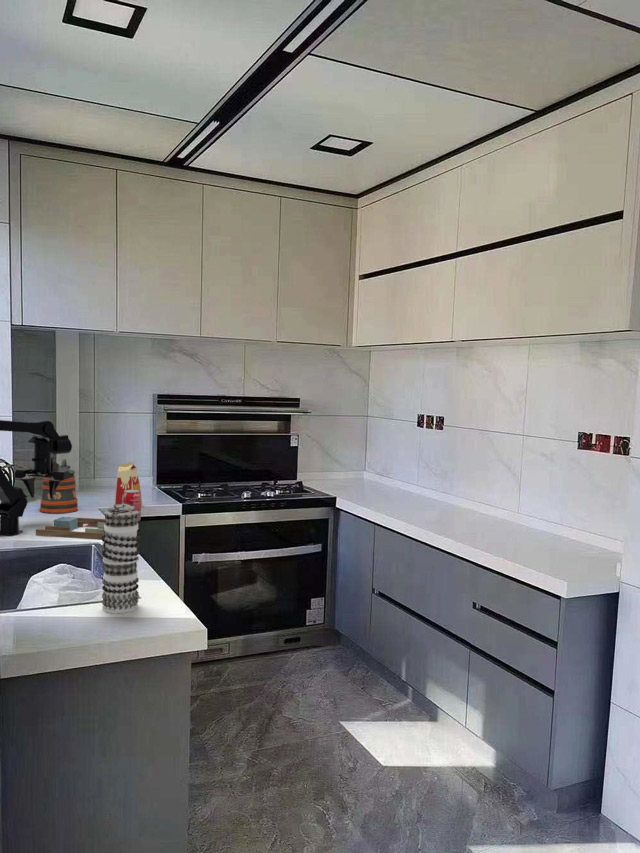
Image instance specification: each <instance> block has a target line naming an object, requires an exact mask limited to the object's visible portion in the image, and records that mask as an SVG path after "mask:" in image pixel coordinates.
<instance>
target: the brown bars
mask: <svg viewBox="0 0 640 853" xmlns="http://www.w3.org/2000/svg"><path fill="white" fill-rule="evenodd" d="M70 517H71V518H78V528H84V531H77V530H76V531H75V530H72V531H70V527H61V526H54V525H44V529H43V528H42V529H41V528H40V529H39V528H37V529H35V536H37V537H55V538H57V537H58V538H72V539H74V538H75V539H88V540H101V539H102V538H101V537H102V536H103V535H102V533H101V530H103V528H104V524H105V518H92V517H91V518H89V517H78V516H77V517H75V516H74V517H73V516H70ZM105 533H106V532H105Z"/></svg>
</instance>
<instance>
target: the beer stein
mask: <svg viewBox="0 0 640 853" xmlns="http://www.w3.org/2000/svg"><path fill="white" fill-rule="evenodd" d="M67 464H68V462H67V459H66V458H65V459H63V460H62V461H61V465H59V469H58V471H59V470H64V471H69V472H70V478H69V479H65V480H63V481H61V482H60V483H59V484H58V486H57V488H56V491H55V494H54V496H53V498H52V499H51V498H50V490H49V480H52V477H42V478H43V479H42V486H41V487H42V488H41V489H42V494H41V499H40V504H39V505H40V507H39V511H40V512H42V513H45V514H56V515H57V514H67V513H74V512H77V511H78V510H79V506H78V504H79V503H78V498H77V491H76V490H77V489H76V487H77V485H76V484H77V483H76V477H75V474H76V471H75V470H73V469H71V465H67ZM46 475H47V474H46Z"/></svg>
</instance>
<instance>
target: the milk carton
mask: <svg viewBox="0 0 640 853" xmlns="http://www.w3.org/2000/svg"><path fill="white" fill-rule="evenodd" d="M134 463H135V461H132V462H128V463H123V464H121V463H120V464H117V466H118V470H117V475H116V477H117V478H116V485H115V486H116V487H115V495H114V496H115V499H114V505H115V504H122V496H123V494H124V491H125V490H139V492H140V494H141V509H142V508H143V506H144V505H143V498H142V491H141V484H140V478H139V472H138V468H137V467H136V465H134Z"/></svg>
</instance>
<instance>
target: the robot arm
mask: <svg viewBox="0 0 640 853" xmlns="http://www.w3.org/2000/svg"><path fill="white" fill-rule="evenodd" d="M0 431H1V432H12V433H13V432H15V433H26V434H29V435H33V436H32V437H31V438H30V439H29V440H28V443H30V444H33V458H31V461H32V462H33V469H32V468H18V469H15V471H14V473H13V476H14V479H15V478H17V479H19V480H20V481H22V482H23V484H24V485H25V487H26V489H27V491H28V493H29V496H30V497H31V498H35V482H36V478H37V477H38V478H39V477H40V478H43V477H52V480H49V490H50V498H51V499H52V498H53V496H54V494H55V491H56V488H57V486H58V484H59V483H60V482H61V481H63V480H65V479H69V478H70V472H69V471H64V470H59V471H58V469H59V466H60V464H59V463H57V462H55V461H54V458H53V456H52V454H53V455H61V454H63V455H64V454H70V453H71V451H72V448H73V445H72V442H71V440H70V438H69V434H68V435H67V434H63V435H59V433H58V432H57V430H56V429H55V426H54V423H53V422H52V421H50V420H45V419H44V420H43V419H35V420H28V421H17V420H15V421H14V420H5V419H4V420H3V419H0ZM38 436H39V437H38ZM46 474H47V475H46ZM28 503H29V502H28V496H27V495H26V494H25V493H24V490H23V488H21V487H17V486H13V485H12V483H11V482H10V480H9V478H8V477H7V476H6V474H5V472H4V471H3V469H2V468H1V467H0V535H1V536H15V535H19V534H20V533H23V530H22V529H21V530H20V528H19V527H20V525H19V524H20V518H21V517H23V516H24V514H25V509H26V508H27V505H28Z"/></svg>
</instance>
